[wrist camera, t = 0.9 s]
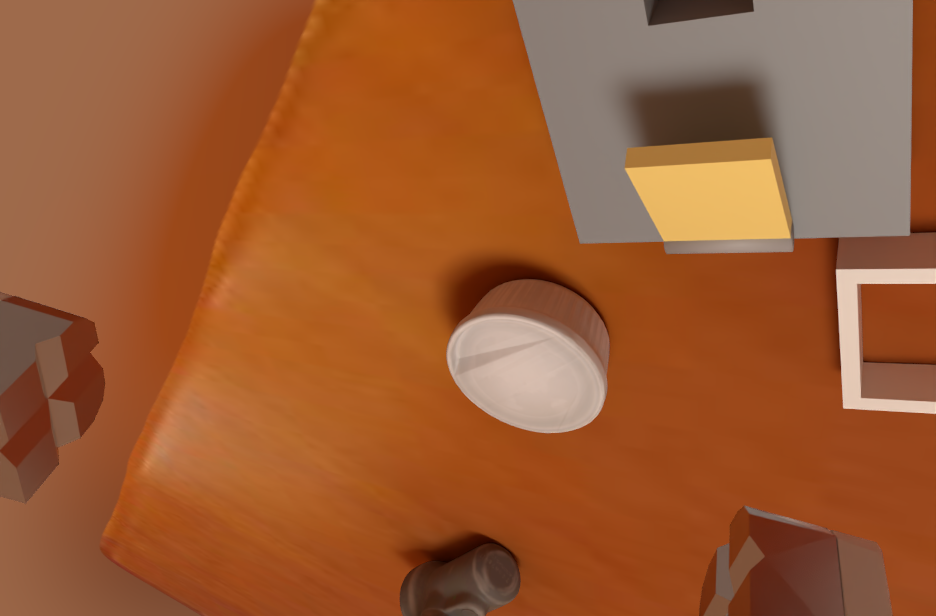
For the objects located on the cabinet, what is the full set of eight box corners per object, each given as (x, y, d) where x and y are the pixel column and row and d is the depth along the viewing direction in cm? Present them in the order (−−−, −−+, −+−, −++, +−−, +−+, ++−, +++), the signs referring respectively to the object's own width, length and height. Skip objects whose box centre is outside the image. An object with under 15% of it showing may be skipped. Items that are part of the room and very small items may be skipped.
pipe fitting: (469, 597, 94) (435, 681, 87) (415, 550, 93) (375, 632, 85) (544, 565, 87) (514, 654, 79) (487, 513, 85) (450, 599, 78)
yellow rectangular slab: (772, 136, 35) (770, 166, 35) (794, 230, 43) (793, 256, 42) (627, 146, 38) (623, 175, 38) (671, 233, 45) (669, 258, 45)
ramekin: (494, 238, 58) (467, 291, 55) (649, 309, 58) (632, 367, 54) (454, 337, 66) (428, 388, 63) (589, 400, 66) (570, 455, 63)
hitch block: (916, -294, 32) (915, -254, 28) (910, 162, 44) (910, 235, 40) (517, -189, 39) (472, -145, 36) (606, 179, 52) (579, 243, 48)
